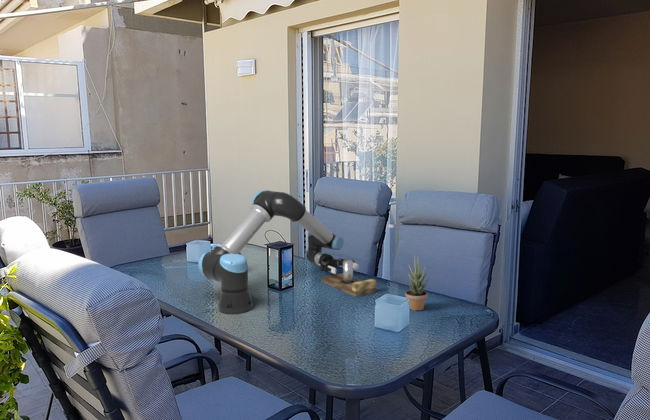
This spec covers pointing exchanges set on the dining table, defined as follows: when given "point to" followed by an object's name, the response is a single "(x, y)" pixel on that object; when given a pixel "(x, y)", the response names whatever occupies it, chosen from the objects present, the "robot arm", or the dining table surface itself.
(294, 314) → the dining table surface
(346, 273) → the steel sleeve
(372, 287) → the jig bar
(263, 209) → the robot arm
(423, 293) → the potted plant
